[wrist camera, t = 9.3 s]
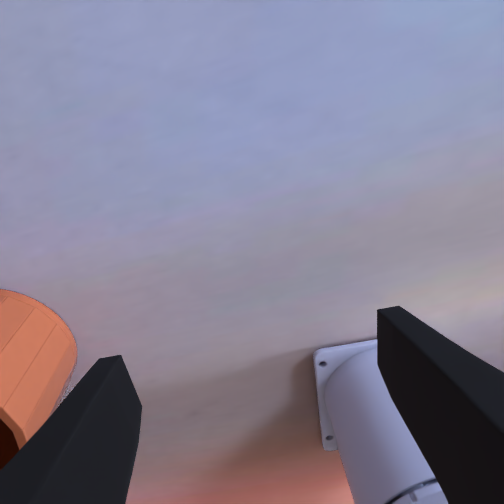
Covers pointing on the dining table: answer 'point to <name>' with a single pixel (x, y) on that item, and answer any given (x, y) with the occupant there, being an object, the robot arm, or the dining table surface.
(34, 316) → the cup
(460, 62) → the dining table surface
